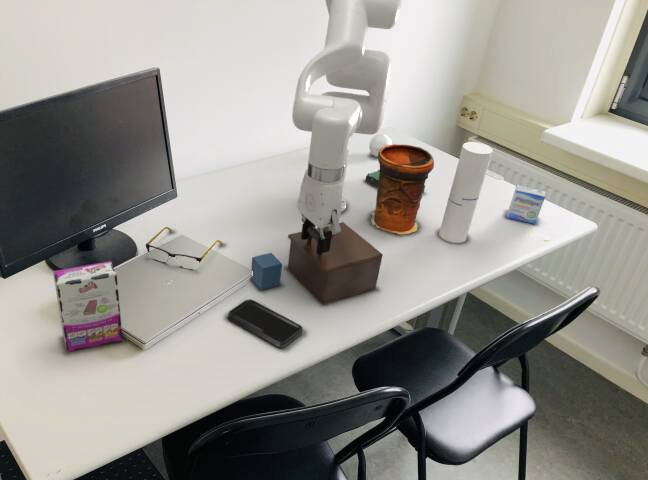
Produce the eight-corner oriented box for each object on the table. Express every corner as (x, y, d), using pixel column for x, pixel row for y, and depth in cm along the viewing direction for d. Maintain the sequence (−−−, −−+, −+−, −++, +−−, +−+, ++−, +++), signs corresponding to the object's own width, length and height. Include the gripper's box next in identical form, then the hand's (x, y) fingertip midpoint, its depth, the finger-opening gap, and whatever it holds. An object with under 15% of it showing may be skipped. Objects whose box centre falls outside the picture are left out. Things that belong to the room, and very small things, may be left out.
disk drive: (424, 193, 194) (387, 174, 203) (426, 185, 193) (389, 165, 201) (400, 202, 189) (364, 181, 198) (403, 193, 187) (365, 173, 196)
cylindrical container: (466, 244, 171) (494, 155, 157) (439, 240, 172) (463, 151, 157) (465, 231, 177) (491, 144, 162) (438, 227, 178) (462, 140, 163)
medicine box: (506, 218, 185) (515, 190, 180) (507, 211, 188) (516, 184, 183) (535, 224, 183) (545, 197, 178) (536, 217, 186) (546, 190, 181)
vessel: (360, 228, 175) (373, 158, 163) (372, 205, 186) (385, 138, 174) (413, 241, 171) (430, 171, 159) (423, 217, 182) (439, 150, 170)
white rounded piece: (362, 155, 214) (366, 133, 209) (376, 149, 218) (380, 128, 214) (387, 165, 208) (391, 144, 204) (401, 160, 213) (405, 138, 208)
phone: (249, 298, 144) (304, 327, 137) (248, 302, 144) (304, 331, 137) (225, 313, 139) (282, 345, 132) (225, 318, 139) (281, 349, 132)
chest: (323, 304, 146) (328, 271, 141) (287, 268, 157) (291, 237, 151) (375, 289, 152) (382, 257, 147) (337, 255, 163) (342, 225, 157)
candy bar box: (117, 326, 135) (112, 259, 125) (123, 341, 131) (118, 273, 122) (61, 337, 131) (52, 269, 121) (66, 353, 127) (56, 284, 118)
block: (250, 278, 152) (252, 257, 149) (269, 274, 154) (271, 252, 151) (260, 290, 149) (262, 268, 145) (279, 285, 151) (282, 263, 147)
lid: (324, 272, 140) (328, 250, 137) (287, 237, 151) (290, 216, 148) (382, 257, 147) (386, 235, 143) (342, 224, 157) (346, 204, 154)
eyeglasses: (144, 259, 156) (143, 245, 153) (171, 231, 167) (171, 217, 164) (198, 274, 152) (199, 259, 150) (222, 244, 163) (223, 230, 161)
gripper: (288, 156, 139) (280, 230, 150) (333, 191, 127) (321, 268, 138) (318, 151, 142) (308, 224, 153) (364, 185, 130) (350, 261, 141)
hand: (315, 244), depth 145 cm, fingers closed on lid, 5 cm apart
